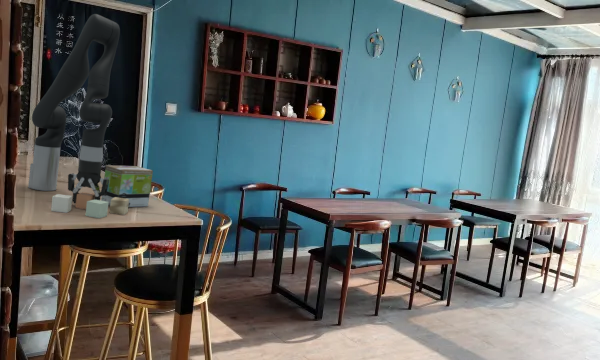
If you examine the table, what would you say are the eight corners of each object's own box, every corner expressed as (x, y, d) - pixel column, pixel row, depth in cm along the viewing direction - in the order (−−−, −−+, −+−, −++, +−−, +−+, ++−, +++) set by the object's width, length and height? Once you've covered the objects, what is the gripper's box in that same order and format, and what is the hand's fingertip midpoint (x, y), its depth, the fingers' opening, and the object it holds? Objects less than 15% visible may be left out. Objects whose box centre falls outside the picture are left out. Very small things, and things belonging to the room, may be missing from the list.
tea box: (117, 208, 191) (122, 169, 189) (100, 203, 196) (104, 164, 194) (149, 206, 204) (153, 169, 202) (132, 201, 209) (136, 165, 207)
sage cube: (85, 215, 173) (86, 201, 172) (93, 213, 178) (95, 199, 177) (99, 218, 172) (100, 203, 172) (106, 216, 177) (108, 201, 177)
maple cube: (109, 213, 182) (111, 199, 182) (113, 210, 187) (115, 197, 187) (123, 215, 183) (125, 201, 182) (127, 212, 188) (129, 199, 187)
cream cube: (51, 211, 172) (52, 196, 171) (55, 208, 177) (57, 194, 176) (66, 213, 173) (68, 198, 172) (71, 210, 178) (72, 195, 177)
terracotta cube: (75, 207, 182) (76, 193, 182) (81, 205, 187) (83, 192, 187) (89, 209, 182) (91, 196, 182) (95, 207, 187) (96, 194, 187)
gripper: (65, 156, 179) (60, 203, 181) (106, 162, 179) (101, 209, 181) (75, 155, 187) (70, 200, 188) (114, 161, 187) (109, 206, 188)
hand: (85, 204), depth 185 cm, fingers open, 6 cm apart
